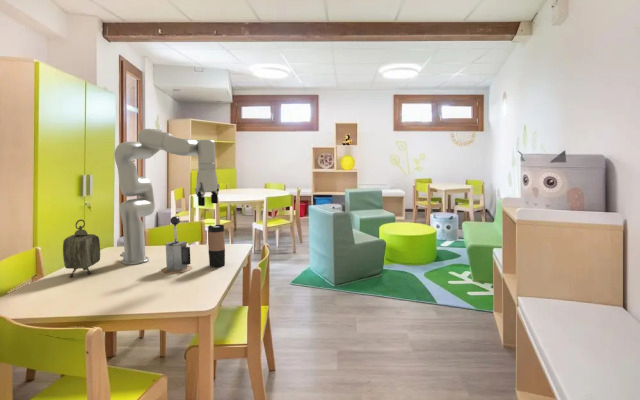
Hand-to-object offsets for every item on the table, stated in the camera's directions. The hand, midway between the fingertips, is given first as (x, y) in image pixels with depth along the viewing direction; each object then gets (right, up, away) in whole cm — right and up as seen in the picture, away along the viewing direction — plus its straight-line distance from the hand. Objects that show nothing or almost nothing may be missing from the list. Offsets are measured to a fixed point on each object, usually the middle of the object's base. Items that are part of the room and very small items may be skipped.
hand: (208, 204), depth 189 cm
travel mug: (+2, -30, +11) cm, 32 cm away
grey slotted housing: (-14, -30, +4) cm, 34 cm away
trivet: (-16, -31, +4) cm, 35 cm away
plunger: (-16, -21, +3) cm, 26 cm away
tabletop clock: (-56, -32, -1) cm, 64 cm away
